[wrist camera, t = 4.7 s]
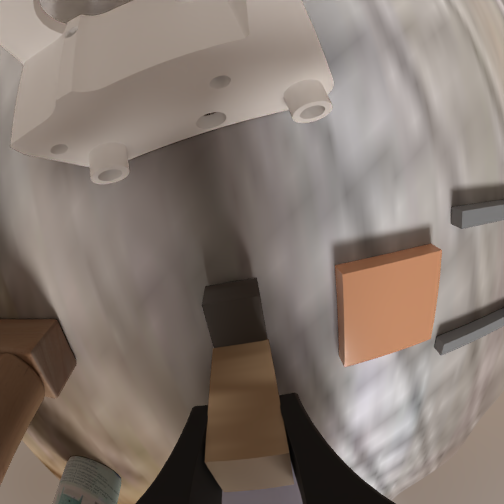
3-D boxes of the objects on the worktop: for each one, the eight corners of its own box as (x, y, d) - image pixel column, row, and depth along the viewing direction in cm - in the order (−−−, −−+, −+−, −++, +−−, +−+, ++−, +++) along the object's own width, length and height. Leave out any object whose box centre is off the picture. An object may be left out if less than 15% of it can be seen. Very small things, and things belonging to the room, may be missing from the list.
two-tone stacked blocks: (233, 391, 16) (236, 510, 9) (204, 286, 14) (180, 418, 6) (276, 385, 16) (297, 503, 9) (257, 277, 14) (282, 407, 6)
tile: (336, 350, 17) (344, 367, 15) (331, 261, 15) (342, 274, 13) (418, 325, 17) (430, 338, 15) (426, 240, 15) (441, 250, 13)
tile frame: (432, 352, 17) (439, 360, 16) (451, 198, 14) (462, 202, 13) (507, 318, 17) (514, 323, 16) (528, 189, 14) (537, 192, 13)
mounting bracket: (289, 28, 12) (295, -147, 1) (336, 121, 12) (426, -105, 1) (77, 99, 12) (-44, -11, 2) (82, 202, 12) (-119, 121, 1)
